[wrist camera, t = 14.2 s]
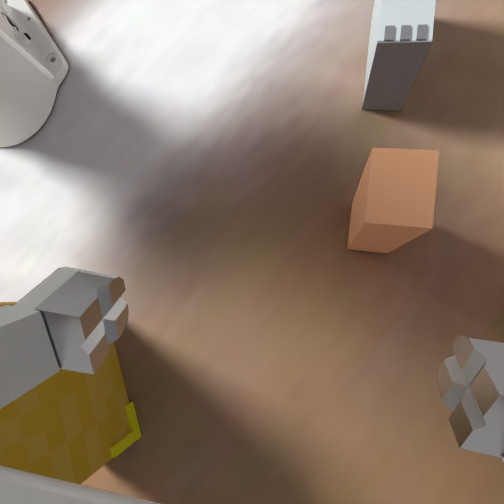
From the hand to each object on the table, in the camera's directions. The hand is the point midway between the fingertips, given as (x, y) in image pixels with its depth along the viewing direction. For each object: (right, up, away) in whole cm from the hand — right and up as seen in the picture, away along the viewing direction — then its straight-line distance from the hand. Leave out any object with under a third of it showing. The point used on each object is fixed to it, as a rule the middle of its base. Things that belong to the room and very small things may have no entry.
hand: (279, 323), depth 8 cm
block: (+12, +4, +27) cm, 29 cm away
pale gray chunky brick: (+14, +23, +28) cm, 39 cm away
